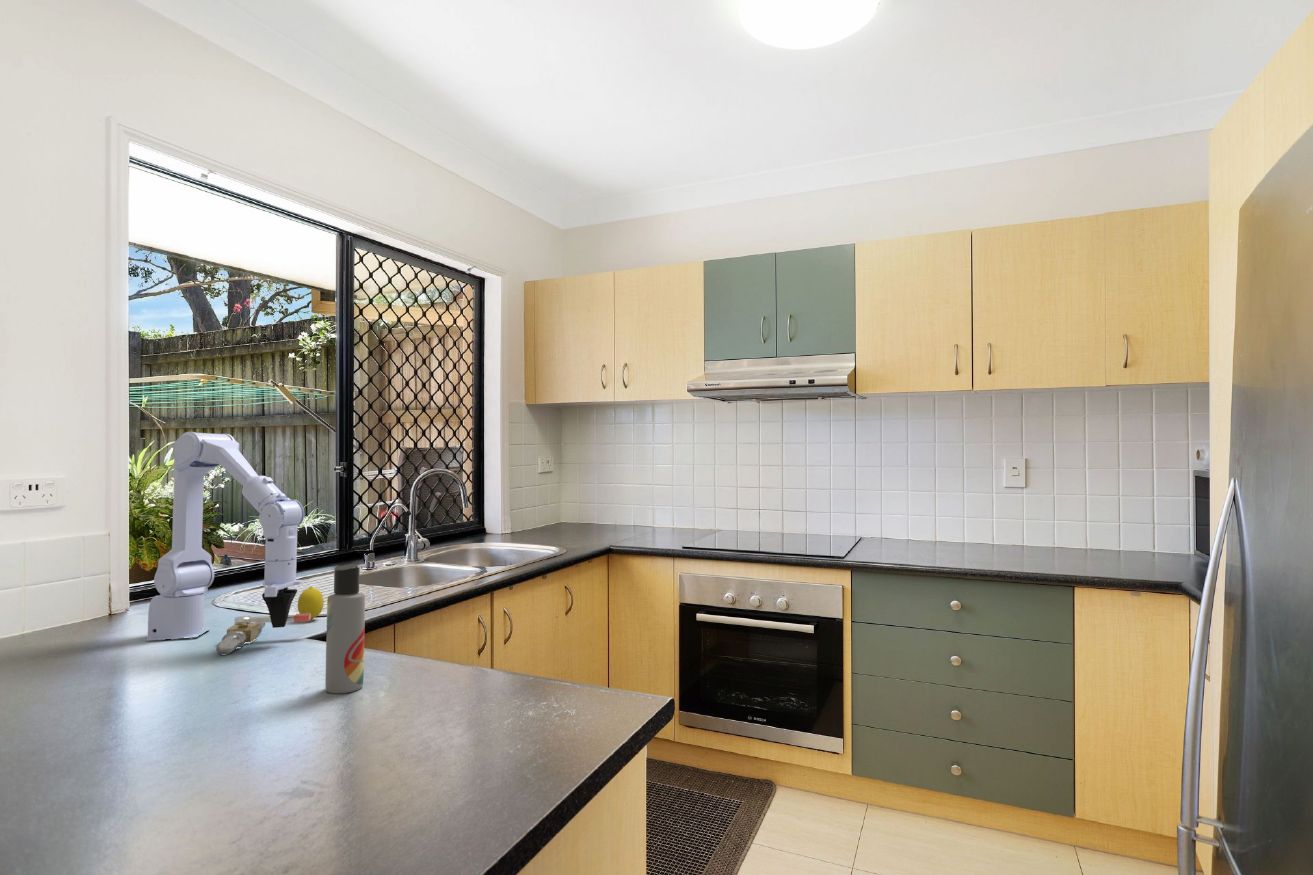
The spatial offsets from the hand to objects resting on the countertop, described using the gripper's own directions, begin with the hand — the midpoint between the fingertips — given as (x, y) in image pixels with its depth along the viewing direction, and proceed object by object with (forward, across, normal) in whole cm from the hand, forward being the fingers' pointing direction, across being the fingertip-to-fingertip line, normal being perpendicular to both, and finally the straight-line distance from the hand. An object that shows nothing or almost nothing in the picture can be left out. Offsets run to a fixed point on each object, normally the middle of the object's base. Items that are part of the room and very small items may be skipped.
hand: (279, 626), depth 143 cm
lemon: (+4, +24, -1) cm, 24 cm away
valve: (+4, +5, +8) cm, 10 cm away
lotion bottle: (+4, -34, -18) cm, 39 cm away
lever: (0, +5, +2) cm, 5 cm away
